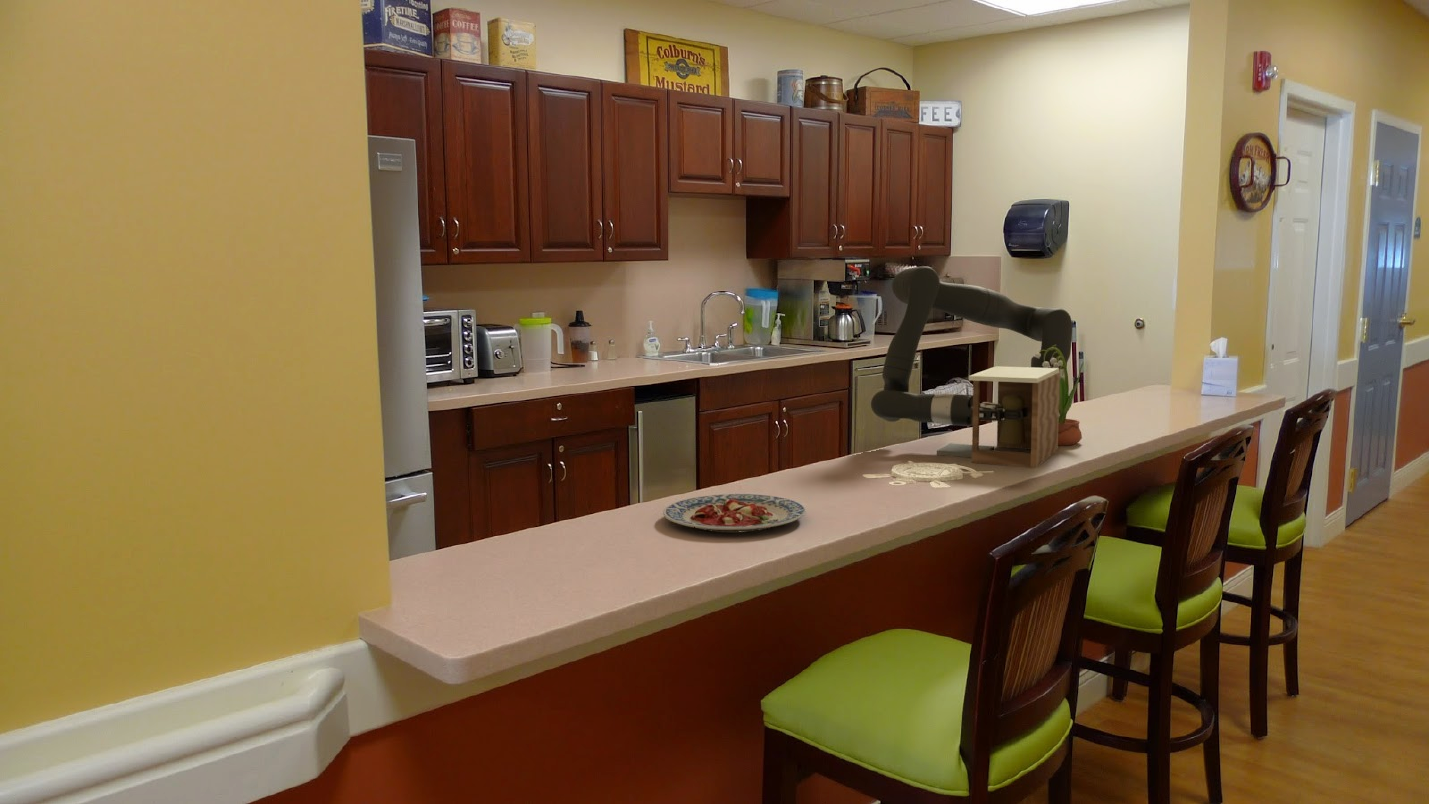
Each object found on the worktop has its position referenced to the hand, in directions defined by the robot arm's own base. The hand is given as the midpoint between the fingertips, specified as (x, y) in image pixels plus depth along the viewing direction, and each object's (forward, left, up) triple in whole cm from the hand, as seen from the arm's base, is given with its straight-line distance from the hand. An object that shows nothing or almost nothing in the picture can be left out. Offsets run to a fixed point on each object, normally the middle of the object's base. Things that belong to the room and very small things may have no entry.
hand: (1025, 413), depth 240 cm
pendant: (+29, -14, -11) cm, 34 cm away
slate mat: (0, -14, -10) cm, 17 cm away
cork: (0, -3, -7) cm, 8 cm away
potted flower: (-22, +3, -10) cm, 25 cm away
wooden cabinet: (0, -2, -10) cm, 10 cm away
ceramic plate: (+83, -33, -11) cm, 90 cm away
